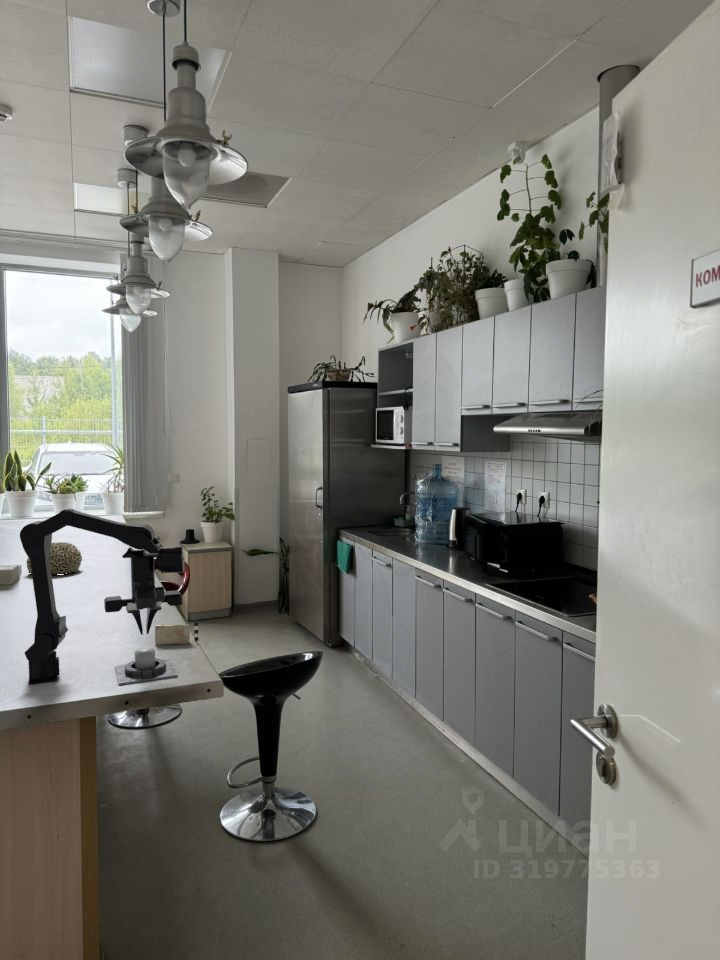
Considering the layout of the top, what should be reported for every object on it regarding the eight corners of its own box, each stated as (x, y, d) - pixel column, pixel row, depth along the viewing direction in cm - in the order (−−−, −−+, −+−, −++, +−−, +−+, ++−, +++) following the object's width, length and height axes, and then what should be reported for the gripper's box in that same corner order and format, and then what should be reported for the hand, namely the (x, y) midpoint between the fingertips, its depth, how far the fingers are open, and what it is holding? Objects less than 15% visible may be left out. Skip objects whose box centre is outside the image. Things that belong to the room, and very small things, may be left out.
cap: (136, 674, 169) (135, 654, 168) (134, 668, 173) (133, 648, 173) (156, 671, 171) (156, 651, 170) (154, 665, 175) (153, 646, 175)
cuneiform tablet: (198, 621, 199) (156, 623, 198) (196, 624, 195) (154, 626, 194) (198, 641, 199) (157, 642, 198) (196, 644, 196) (154, 646, 194)
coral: (31, 583, 290) (28, 549, 288) (25, 573, 305) (22, 542, 303) (87, 574, 303) (84, 542, 301) (79, 566, 318) (76, 535, 316)
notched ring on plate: (118, 685, 163) (118, 677, 163) (114, 667, 176) (114, 660, 175) (177, 676, 168) (177, 669, 168) (169, 660, 181) (169, 653, 181)
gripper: (105, 583, 159) (107, 647, 160) (185, 576, 167) (186, 637, 168) (103, 575, 169) (105, 635, 170) (178, 568, 177) (179, 626, 178)
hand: (144, 634), depth 171 cm, fingers closed
